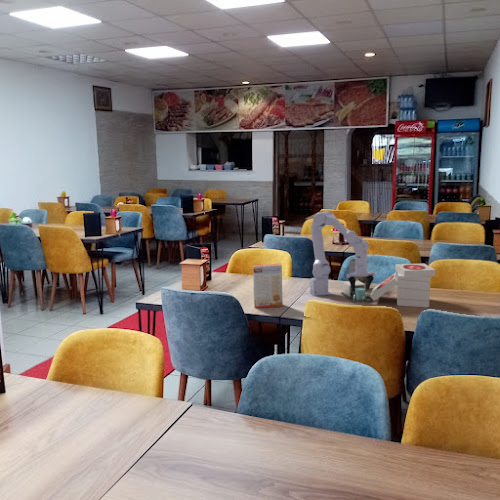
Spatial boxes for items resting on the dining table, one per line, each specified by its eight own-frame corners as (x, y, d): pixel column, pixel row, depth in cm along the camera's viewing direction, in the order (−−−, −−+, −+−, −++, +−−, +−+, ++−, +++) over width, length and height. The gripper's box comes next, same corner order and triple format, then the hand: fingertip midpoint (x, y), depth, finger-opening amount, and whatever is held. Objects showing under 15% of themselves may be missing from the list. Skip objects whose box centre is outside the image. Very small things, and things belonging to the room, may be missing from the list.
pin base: (354, 302, 261) (354, 297, 260) (341, 293, 277) (341, 289, 277) (373, 300, 263) (373, 296, 262) (359, 292, 279) (359, 287, 279)
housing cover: (349, 296, 269) (349, 285, 268) (342, 292, 277) (342, 281, 276) (364, 295, 270) (365, 284, 269) (358, 291, 279) (358, 280, 278)
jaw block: (358, 299, 263) (358, 290, 262) (354, 297, 267) (355, 288, 266) (365, 299, 264) (365, 289, 263) (362, 297, 268) (362, 287, 267)
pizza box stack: (373, 294, 274) (374, 261, 270) (433, 298, 264) (435, 263, 261) (369, 304, 256) (369, 269, 253) (433, 309, 246) (435, 272, 243)
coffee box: (359, 290, 282) (359, 261, 279) (348, 289, 286) (349, 260, 283) (366, 287, 290) (367, 258, 287) (356, 285, 293) (356, 257, 290)
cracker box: (281, 303, 261) (281, 263, 258) (282, 307, 255) (282, 265, 252) (253, 304, 261) (252, 263, 257) (254, 308, 255) (253, 266, 251)
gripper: (350, 267, 257) (350, 293, 259) (377, 265, 260) (377, 291, 262) (345, 264, 264) (344, 290, 266) (371, 262, 267) (371, 288, 269)
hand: (360, 290), depth 265 cm, fingers open, 7 cm apart
